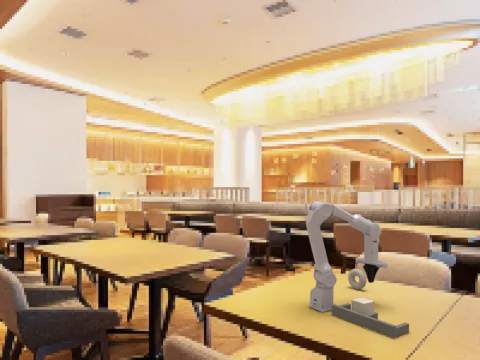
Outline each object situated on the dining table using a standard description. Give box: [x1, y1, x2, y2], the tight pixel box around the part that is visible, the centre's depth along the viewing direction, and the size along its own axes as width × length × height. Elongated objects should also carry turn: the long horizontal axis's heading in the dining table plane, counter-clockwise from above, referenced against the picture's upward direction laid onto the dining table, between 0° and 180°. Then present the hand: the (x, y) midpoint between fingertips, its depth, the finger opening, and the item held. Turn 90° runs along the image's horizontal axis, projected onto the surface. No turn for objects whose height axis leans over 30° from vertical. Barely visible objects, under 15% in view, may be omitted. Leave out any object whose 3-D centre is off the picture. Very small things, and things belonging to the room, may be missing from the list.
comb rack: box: [331, 302, 410, 339], centre depth 140 cm, size 10×26×4 cm, turn 35°
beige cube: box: [351, 297, 375, 315], centre depth 148 cm, size 6×6×6 cm
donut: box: [347, 268, 368, 291], centre depth 185 cm, size 10×4×10 cm, turn 36°
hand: (370, 282), depth 162 cm, fingers closed
